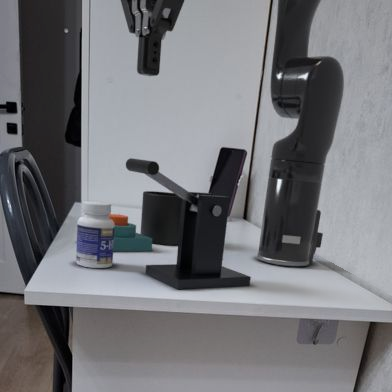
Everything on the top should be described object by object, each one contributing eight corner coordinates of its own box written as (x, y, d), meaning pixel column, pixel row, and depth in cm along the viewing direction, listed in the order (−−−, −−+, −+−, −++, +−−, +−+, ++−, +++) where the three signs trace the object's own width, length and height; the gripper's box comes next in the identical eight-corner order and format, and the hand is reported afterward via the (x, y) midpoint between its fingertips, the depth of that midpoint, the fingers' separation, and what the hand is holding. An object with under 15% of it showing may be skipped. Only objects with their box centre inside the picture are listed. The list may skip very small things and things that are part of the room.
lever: (144, 174, 64) (153, 155, 64) (122, 170, 69) (130, 152, 69) (220, 223, 73) (228, 207, 73) (196, 217, 77) (203, 201, 77)
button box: (131, 242, 102) (132, 221, 101) (151, 251, 96) (153, 228, 94) (80, 242, 97) (81, 219, 95) (98, 251, 90) (99, 227, 89)
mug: (165, 235, 116) (168, 191, 113) (196, 245, 107) (201, 198, 104) (125, 234, 111) (128, 188, 108) (155, 245, 101) (158, 195, 98)
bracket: (177, 289, 71) (186, 196, 67) (145, 273, 78) (151, 188, 74) (249, 285, 77) (261, 200, 73) (213, 271, 84) (222, 192, 80)
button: (122, 224, 97) (122, 214, 97) (131, 227, 95) (131, 217, 94) (103, 224, 95) (103, 213, 95) (112, 227, 93) (112, 216, 92)
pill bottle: (105, 270, 77) (108, 206, 74) (70, 265, 78) (71, 201, 75) (117, 264, 82) (120, 203, 79) (84, 259, 83) (86, 199, 80)
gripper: (223, -113, 55) (205, 77, 61) (159, -77, 65) (149, 82, 71) (158, -141, 51) (145, 65, 57) (101, -98, 61) (95, 72, 67)
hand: (147, 74), depth 64 cm, fingers closed
